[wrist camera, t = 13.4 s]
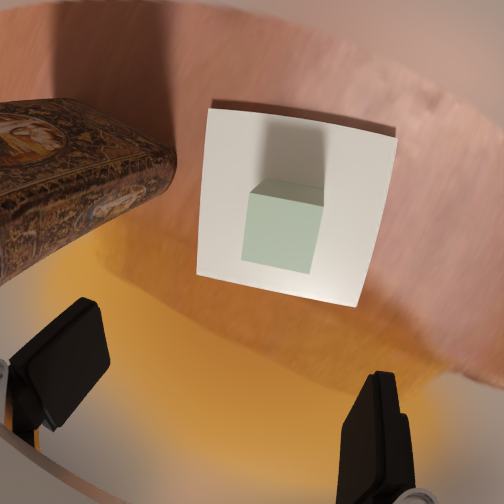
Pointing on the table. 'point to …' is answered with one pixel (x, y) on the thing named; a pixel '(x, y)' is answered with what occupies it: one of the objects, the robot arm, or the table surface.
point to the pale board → (300, 172)
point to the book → (69, 176)
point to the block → (282, 225)
